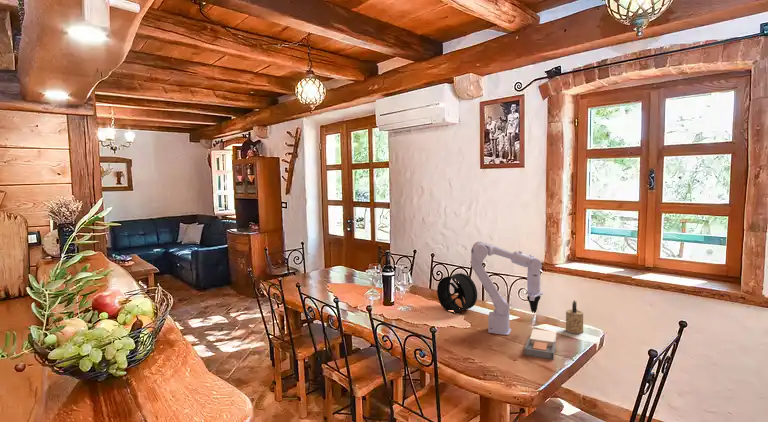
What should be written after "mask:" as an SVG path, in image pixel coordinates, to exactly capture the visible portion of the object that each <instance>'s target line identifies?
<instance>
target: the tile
mask: <svg viewBox="0 0 768 422" xmlns="http://www.w3.org/2000/svg"><path fill="white" fill-rule="evenodd" d="M533 349H536V350H542V351H547V343H542V342H535V343H534V346H533Z"/></svg>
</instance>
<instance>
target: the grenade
mask: <svg viewBox="0 0 768 422" xmlns="http://www.w3.org/2000/svg"><path fill="white" fill-rule="evenodd" d="M571 304H572V305H571V306H572V308H571V309H568V310H566V311H565V330H566V332H567V333H569V334H575V335H579V334H582V333H584V312H583V311H581V310H579V309H578V308H577V304H578V302H577V301H576V300H575V299H573V301H572V303H571Z"/></svg>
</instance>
